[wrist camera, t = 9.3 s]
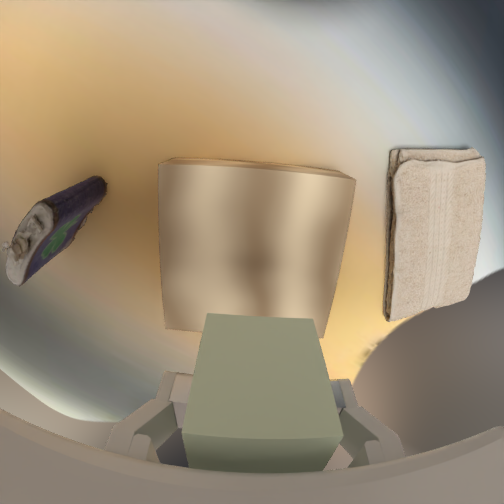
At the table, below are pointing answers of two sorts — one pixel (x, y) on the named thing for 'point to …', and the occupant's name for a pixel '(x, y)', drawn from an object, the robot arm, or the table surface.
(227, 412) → the sage block
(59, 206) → the dark blue flattened pouch
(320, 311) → the birch block
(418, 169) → the washcloth
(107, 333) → the table surface
